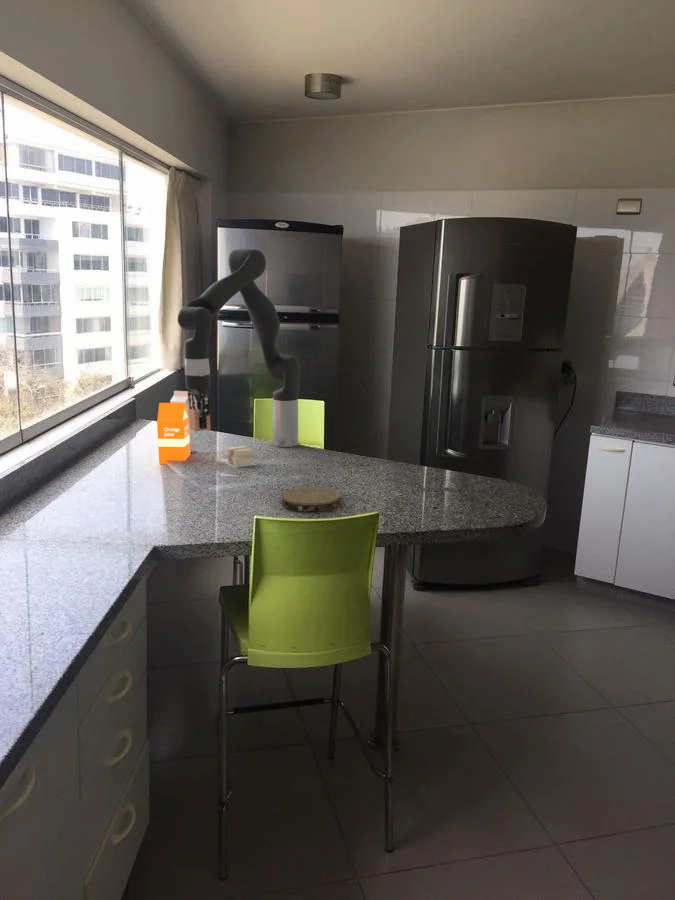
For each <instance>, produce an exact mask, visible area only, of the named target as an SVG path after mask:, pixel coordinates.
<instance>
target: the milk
mask: <svg viewBox="0 0 675 900" xmlns="http://www.w3.org/2000/svg"><path fill="white" fill-rule="evenodd" d="M188 392H189V391H187V390H186V391H185V390H184V391H183V390H173V396H172V397H171V399H170V401H169V403H185V405H186V410H187V414H188V421H189V410H190V409H189V401H188ZM195 433H196V431H194V430H192V429H190V423H189V440H190V442H189V444H190V454H192V453H194V452H196V434H195ZM193 451H194V452H193ZM191 452H192V453H191Z"/></svg>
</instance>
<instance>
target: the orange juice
mask: <svg viewBox="0 0 675 900" xmlns="http://www.w3.org/2000/svg"><path fill="white" fill-rule="evenodd" d="M156 425H157V426H156V427H157V428H156V429H157V446H158V448H157V449H158V462H159V463H158V464H159V465H171V463H170V462H168V461H186V460H187V459H188V458H189V457H190V456H191V453H190V444H189V442H190V440H189V421H188V414H187V410H186V405H185V403H170V402H159V404H158V412H157V420H156Z"/></svg>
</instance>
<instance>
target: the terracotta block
mask: <svg viewBox="0 0 675 900" xmlns="http://www.w3.org/2000/svg"><path fill="white" fill-rule="evenodd" d="M210 416H211V413H210V414H209V416H207V417H206V419H207V428H206V429H200V428H199V414H198V410H196V409H191V410H189V423H190V429H192V430H194V431H195V432H203V431H211V417H210Z"/></svg>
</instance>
